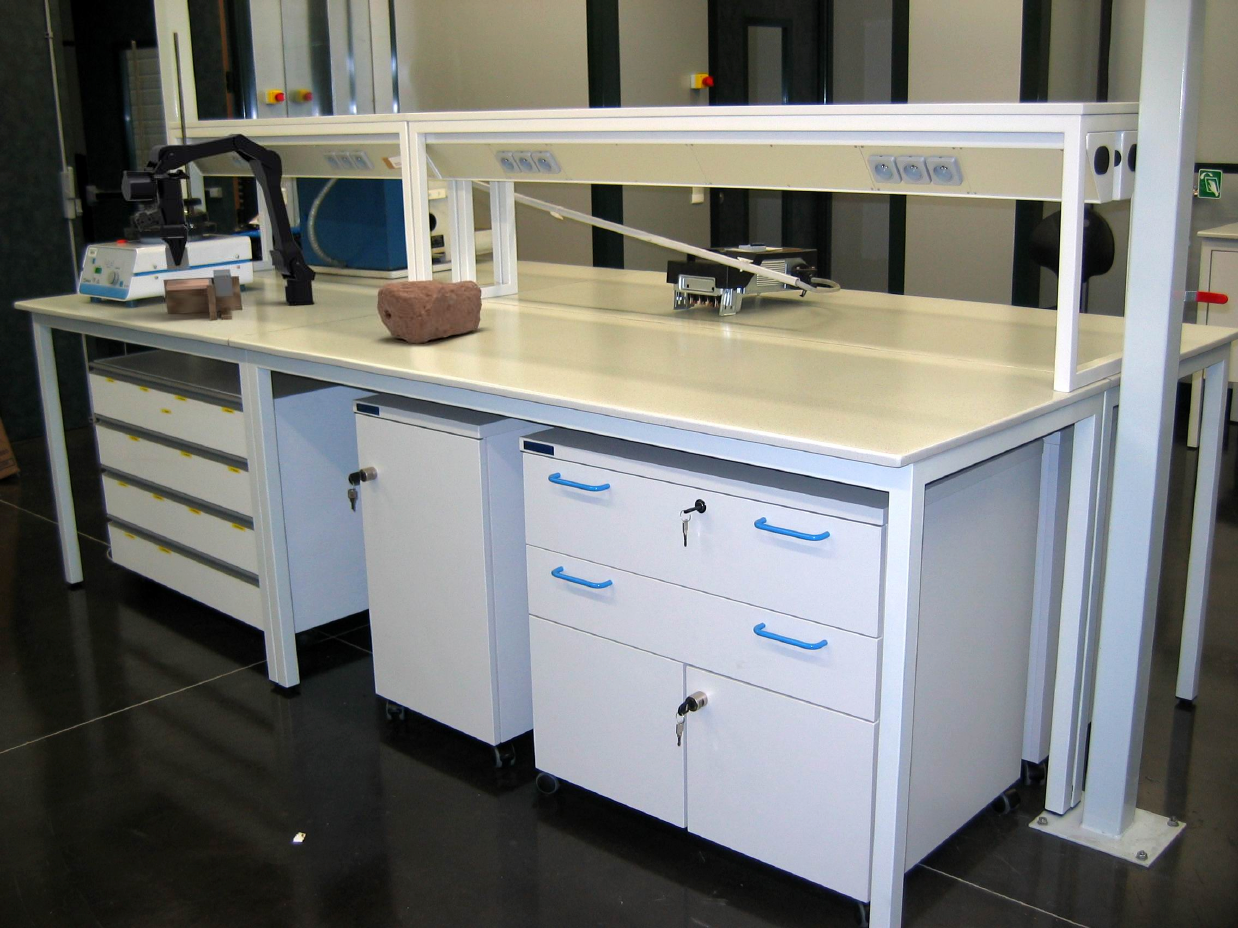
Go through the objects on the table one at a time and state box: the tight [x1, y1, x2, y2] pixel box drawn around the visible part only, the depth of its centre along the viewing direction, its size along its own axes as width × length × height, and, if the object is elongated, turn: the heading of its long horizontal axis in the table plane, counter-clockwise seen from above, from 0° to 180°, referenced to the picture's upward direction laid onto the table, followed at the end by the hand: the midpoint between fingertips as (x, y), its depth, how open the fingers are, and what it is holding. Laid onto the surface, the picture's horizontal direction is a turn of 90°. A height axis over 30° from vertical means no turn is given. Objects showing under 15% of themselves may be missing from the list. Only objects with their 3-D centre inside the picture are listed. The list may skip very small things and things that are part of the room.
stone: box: [376, 279, 483, 344], centre depth 248 cm, size 16×26×15 cm, turn 142°
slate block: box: [164, 243, 191, 271], centre depth 276 cm, size 5×5×6 cm
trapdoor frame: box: [163, 275, 243, 321], centre depth 280 cm, size 18×17×8 cm
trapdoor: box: [166, 268, 233, 297], centre depth 279 cm, size 15×14×5 cm
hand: (178, 264), depth 276 cm, fingers closed on slate block, 5 cm apart
